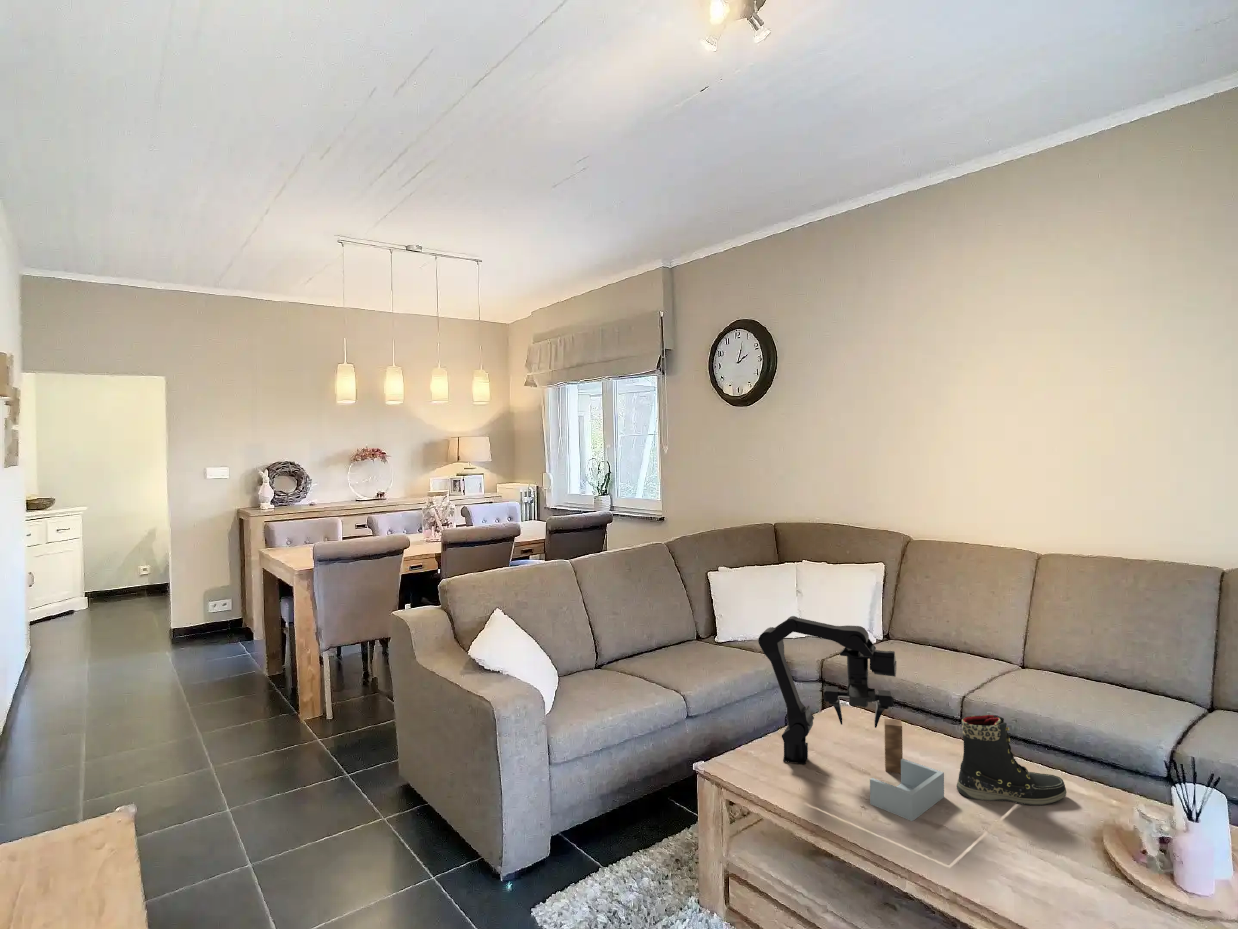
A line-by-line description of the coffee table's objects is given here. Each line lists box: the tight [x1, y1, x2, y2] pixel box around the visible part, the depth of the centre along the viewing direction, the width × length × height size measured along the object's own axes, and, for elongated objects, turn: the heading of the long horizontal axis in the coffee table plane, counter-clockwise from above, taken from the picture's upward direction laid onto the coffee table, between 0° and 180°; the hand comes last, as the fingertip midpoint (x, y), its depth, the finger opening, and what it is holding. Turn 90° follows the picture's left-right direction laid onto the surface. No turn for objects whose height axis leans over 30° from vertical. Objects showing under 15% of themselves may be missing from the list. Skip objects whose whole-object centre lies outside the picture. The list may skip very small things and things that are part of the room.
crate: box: [869, 758, 945, 822], centre depth 180 cm, size 11×17×7 cm, turn 131°
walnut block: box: [883, 718, 904, 774], centre depth 198 cm, size 4×4×14 cm
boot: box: [956, 714, 1067, 806], centre depth 182 cm, size 12×27×20 cm, turn 100°
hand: (858, 725), depth 198 cm, fingers open, 9 cm apart
